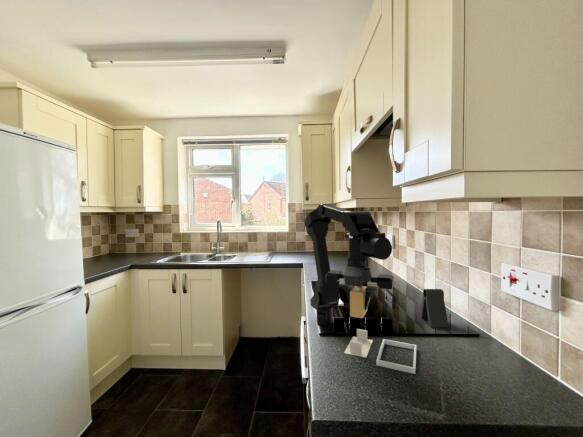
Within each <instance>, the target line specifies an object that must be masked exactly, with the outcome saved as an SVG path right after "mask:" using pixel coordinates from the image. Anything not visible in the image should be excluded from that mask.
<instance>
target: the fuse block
mask: <svg viewBox="0 0 583 437" xmlns="http://www.w3.org/2000/svg"><path fill="white" fill-rule="evenodd" d="M373 340H374V339H368V330H366V329H360V328H356V336H352V338H351V339H350V341H349V343H348V345H347V347H346V349H345V350H344V351H343V353H344V354H348V355H352V356H357V357H361V358H365V359H366V358H367V356H368V354H369V351H370V349H371V346H372V344H373Z"/></svg>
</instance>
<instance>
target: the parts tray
mask: <svg viewBox="0 0 583 437" xmlns="http://www.w3.org/2000/svg"><path fill="white" fill-rule="evenodd" d="M385 345H387V346H392V347H396V348H397V347H398V348H403V349H407V350H408V349H409V350H413V362H412V364H413V365H412V366H408V365H404V364H399V363H397V362H396V363H395V362H391V361H386V360H381V357H382V354H383V350H384V348H385ZM377 353H378V355H377V357H376V360H375V361H376V362H375V364H376V366H377V367H381V368H386V369H391V370H396V371H400V372H405V373H408V374H414V375H415V374H416V370H417V368H416V367H417V366H416V365H417V344H414V343H413V344H412V343H407V342H401V341H398V340H397V341H396V340H391V339H385V338H383V339H382V342H381V344H380V347H379V350H378V352H377Z"/></svg>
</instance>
